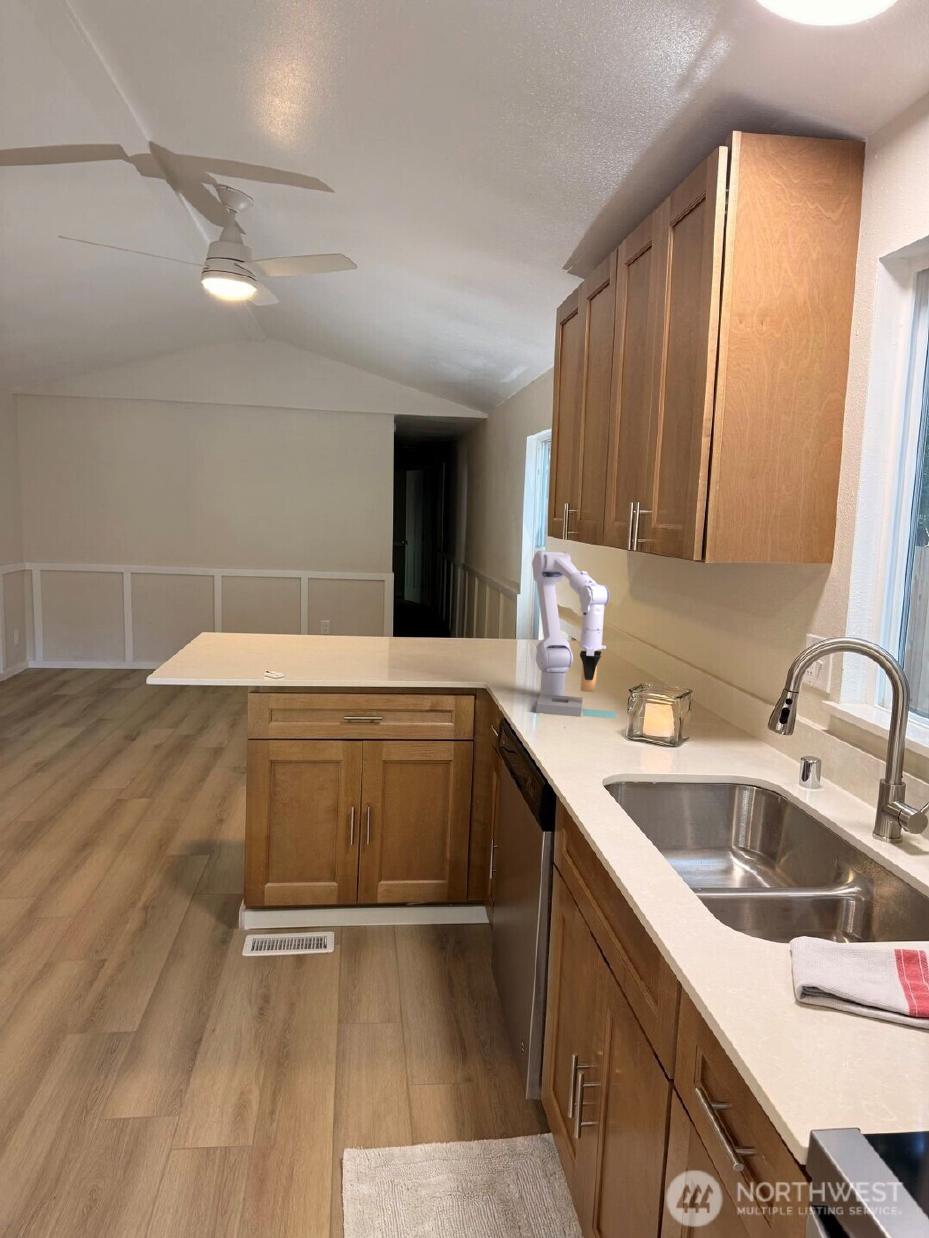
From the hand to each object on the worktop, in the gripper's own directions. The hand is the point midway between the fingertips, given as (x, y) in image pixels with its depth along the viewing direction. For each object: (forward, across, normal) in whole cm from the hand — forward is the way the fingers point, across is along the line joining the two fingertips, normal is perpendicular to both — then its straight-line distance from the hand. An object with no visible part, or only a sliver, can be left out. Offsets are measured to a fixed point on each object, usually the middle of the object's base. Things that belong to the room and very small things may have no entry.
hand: (589, 678), depth 233 cm
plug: (+3, 0, 0) cm, 3 cm away
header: (+10, +1, +8) cm, 13 cm away
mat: (+10, 0, -4) cm, 11 cm away
